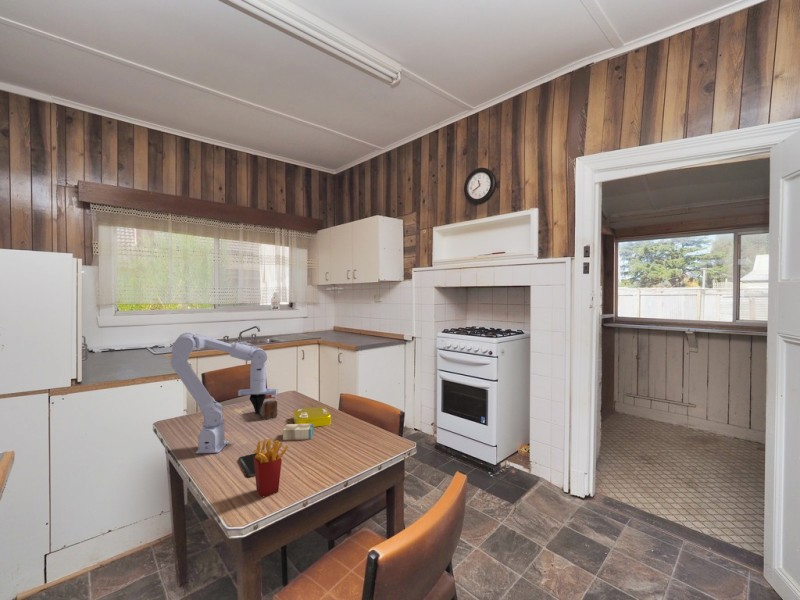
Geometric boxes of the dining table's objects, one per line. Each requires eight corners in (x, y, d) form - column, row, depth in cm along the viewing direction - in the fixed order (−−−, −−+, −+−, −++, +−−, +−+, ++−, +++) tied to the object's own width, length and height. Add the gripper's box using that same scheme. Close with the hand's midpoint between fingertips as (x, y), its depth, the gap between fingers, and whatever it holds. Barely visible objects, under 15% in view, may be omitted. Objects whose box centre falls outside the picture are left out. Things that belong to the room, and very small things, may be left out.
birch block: (282, 440, 138) (311, 439, 139) (282, 430, 138) (311, 429, 139) (286, 433, 144) (313, 433, 145) (286, 424, 144) (313, 423, 145)
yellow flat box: (332, 425, 154) (332, 415, 154) (296, 430, 148) (296, 419, 148) (325, 414, 168) (325, 404, 168) (293, 418, 162) (293, 408, 162)
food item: (255, 412, 169) (255, 392, 169) (272, 409, 174) (272, 389, 174) (262, 420, 158) (262, 399, 158) (280, 417, 163) (280, 396, 163)
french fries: (258, 500, 97) (258, 447, 97) (251, 487, 104) (251, 437, 104) (289, 490, 103) (289, 439, 102) (280, 478, 109) (281, 430, 109)
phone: (248, 475, 109) (238, 457, 121) (248, 479, 109) (238, 460, 121) (274, 468, 114) (261, 451, 126) (274, 472, 114) (261, 454, 126)
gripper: (279, 376, 142) (279, 409, 142) (242, 376, 141) (242, 410, 141) (274, 380, 135) (274, 415, 135) (236, 381, 134) (236, 416, 134)
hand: (258, 413), depth 138 cm, fingers closed
